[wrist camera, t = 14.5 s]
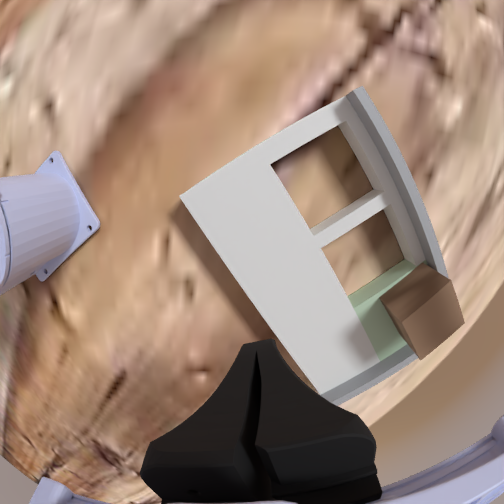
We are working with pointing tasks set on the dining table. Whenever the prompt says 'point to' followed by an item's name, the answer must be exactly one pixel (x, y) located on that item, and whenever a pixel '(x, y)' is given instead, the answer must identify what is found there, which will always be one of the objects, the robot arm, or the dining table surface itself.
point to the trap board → (319, 249)
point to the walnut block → (423, 309)
